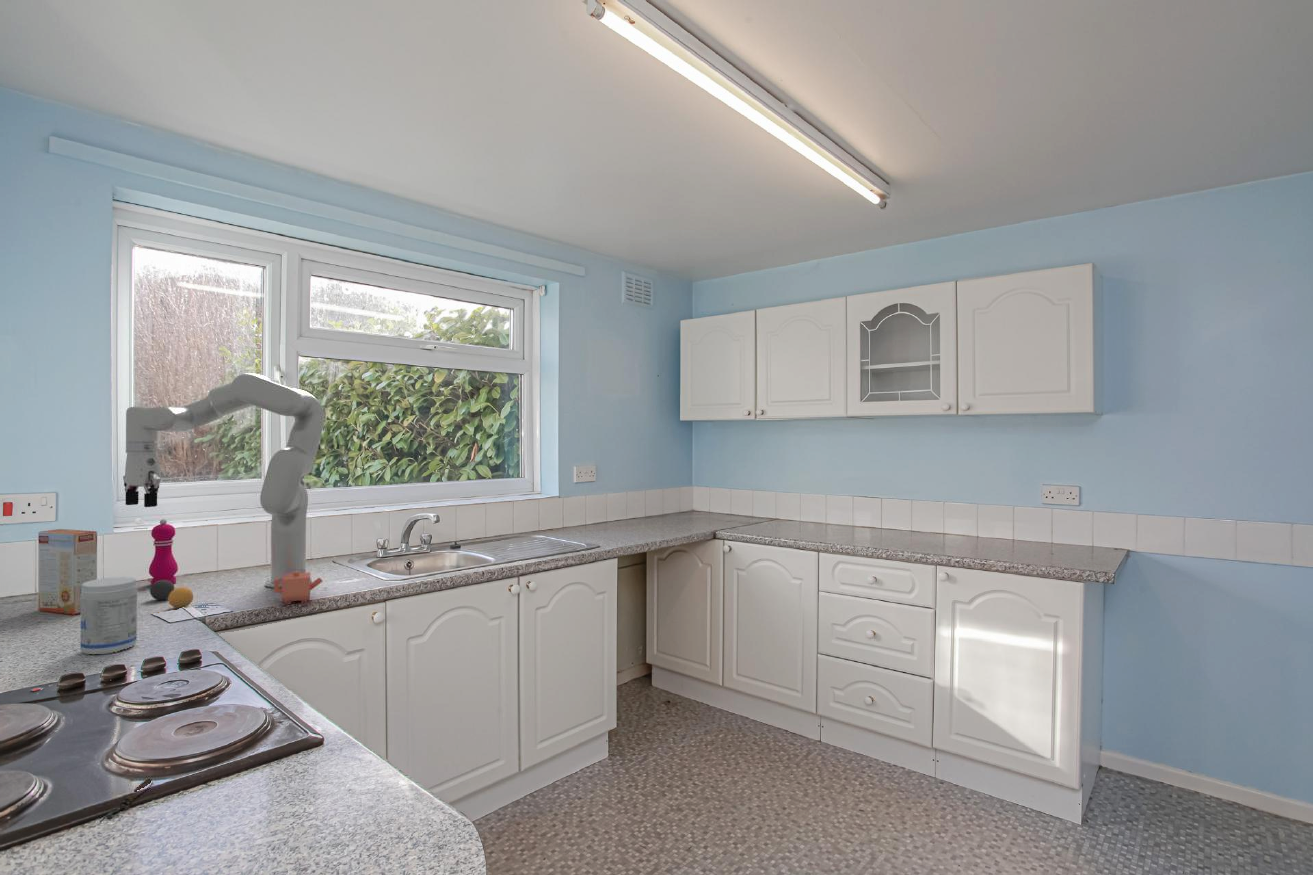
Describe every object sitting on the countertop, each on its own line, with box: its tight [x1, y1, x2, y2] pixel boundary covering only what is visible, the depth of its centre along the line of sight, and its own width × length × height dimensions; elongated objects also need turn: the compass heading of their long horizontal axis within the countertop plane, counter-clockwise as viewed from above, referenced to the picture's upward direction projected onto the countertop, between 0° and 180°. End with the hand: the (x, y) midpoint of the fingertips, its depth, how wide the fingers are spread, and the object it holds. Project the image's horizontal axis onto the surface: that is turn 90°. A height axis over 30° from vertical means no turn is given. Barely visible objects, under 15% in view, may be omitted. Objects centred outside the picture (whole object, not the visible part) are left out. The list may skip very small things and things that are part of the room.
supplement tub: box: [80, 576, 138, 656], centre depth 148 cm, size 10×10×15 cm
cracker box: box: [37, 528, 98, 616], centre depth 179 cm, size 14×6×21 cm, turn 71°
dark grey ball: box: [149, 580, 175, 601], centre depth 190 cm, size 6×6×6 cm
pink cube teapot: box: [273, 571, 323, 605], centre depth 190 cm, size 8×12×8 cm, turn 116°
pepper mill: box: [148, 518, 179, 586], centre depth 210 cm, size 7×7×20 cm
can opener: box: [99, 778, 153, 823], centre depth 87 cm, size 9×2×1 cm, turn 2°
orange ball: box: [167, 586, 194, 609], centre depth 182 cm, size 6×6×6 cm
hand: (141, 505), depth 203 cm, fingers open, 9 cm apart
